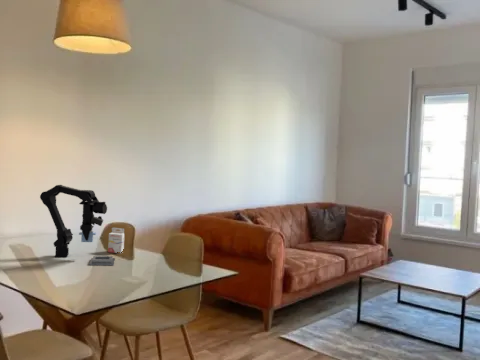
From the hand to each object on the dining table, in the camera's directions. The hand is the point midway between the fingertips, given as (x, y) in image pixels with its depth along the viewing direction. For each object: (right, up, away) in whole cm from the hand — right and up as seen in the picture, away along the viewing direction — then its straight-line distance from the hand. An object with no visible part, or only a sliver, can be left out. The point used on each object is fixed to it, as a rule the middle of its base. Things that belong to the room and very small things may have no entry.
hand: (87, 239), depth 288 cm
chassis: (+10, -12, -6) cm, 17 cm away
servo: (0, -1, 0) cm, 1 cm away
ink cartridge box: (+11, -10, +21) cm, 26 cm away
